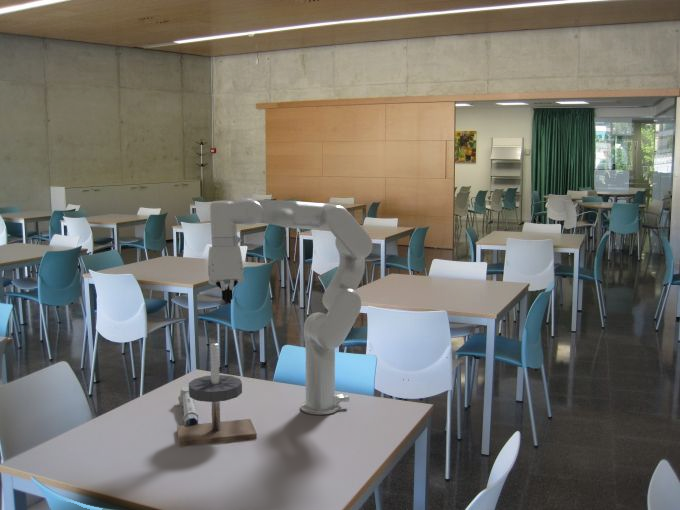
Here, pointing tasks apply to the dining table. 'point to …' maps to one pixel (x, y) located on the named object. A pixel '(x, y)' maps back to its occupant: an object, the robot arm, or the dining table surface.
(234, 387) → the grey faceted washer
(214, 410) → the steel pipe
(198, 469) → the dining table surface
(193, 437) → the pipe stand base
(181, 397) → the white cylindrical tool
